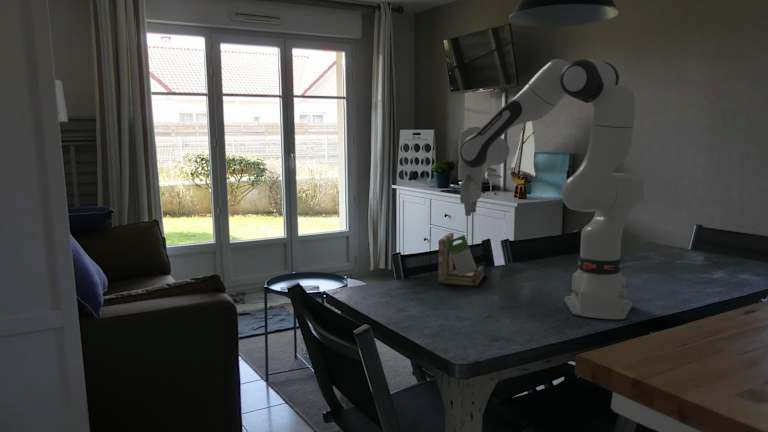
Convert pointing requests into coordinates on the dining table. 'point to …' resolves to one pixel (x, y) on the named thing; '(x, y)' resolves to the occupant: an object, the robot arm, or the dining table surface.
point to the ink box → (461, 256)
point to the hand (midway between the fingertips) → (470, 214)
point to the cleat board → (446, 267)
